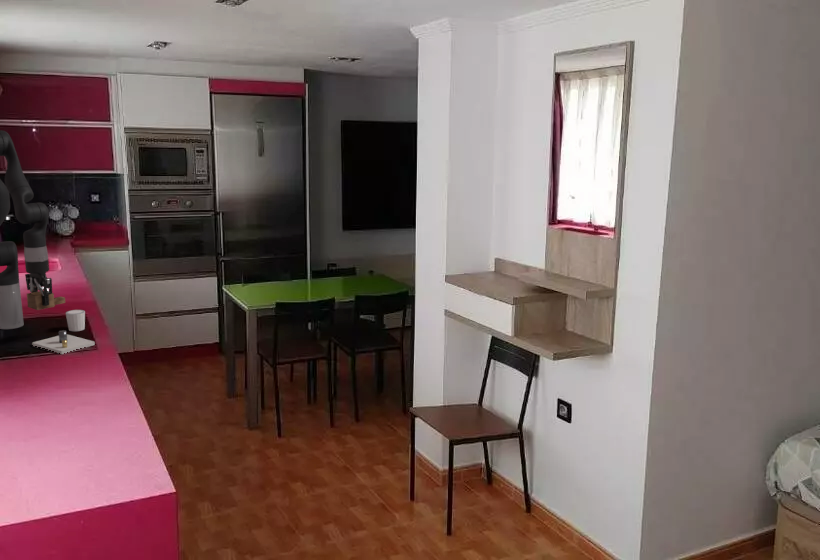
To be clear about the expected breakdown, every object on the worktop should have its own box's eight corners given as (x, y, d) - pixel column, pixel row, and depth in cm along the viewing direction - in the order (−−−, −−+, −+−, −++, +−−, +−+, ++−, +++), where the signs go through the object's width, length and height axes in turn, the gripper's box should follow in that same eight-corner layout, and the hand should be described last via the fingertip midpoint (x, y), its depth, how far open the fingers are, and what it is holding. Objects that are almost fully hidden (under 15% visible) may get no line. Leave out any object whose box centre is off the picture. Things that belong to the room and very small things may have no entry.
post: (57, 342, 261) (56, 331, 260) (64, 340, 264) (63, 330, 263) (62, 343, 260) (61, 332, 259) (69, 341, 262) (68, 331, 261)
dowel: (61, 347, 256) (60, 340, 255) (65, 346, 257) (65, 339, 257) (64, 348, 255) (63, 341, 255) (68, 347, 256) (67, 340, 256)
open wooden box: (37, 310, 261) (36, 296, 260) (27, 307, 264) (26, 293, 263) (68, 303, 270) (67, 290, 269) (58, 300, 274) (57, 287, 272)
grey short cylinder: (79, 332, 278) (77, 314, 276) (63, 331, 279) (61, 313, 277) (90, 327, 284) (88, 310, 283) (74, 326, 286) (73, 308, 284)
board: (32, 345, 261) (32, 342, 261) (65, 336, 272) (65, 333, 271) (61, 354, 252) (61, 351, 252) (94, 344, 263) (94, 341, 263)
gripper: (15, 257, 262) (20, 302, 266) (36, 263, 254) (41, 309, 258) (36, 254, 268) (40, 298, 272) (57, 259, 260) (61, 305, 264)
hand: (40, 303), depth 265 cm, fingers closed on open wooden box, 6 cm apart
